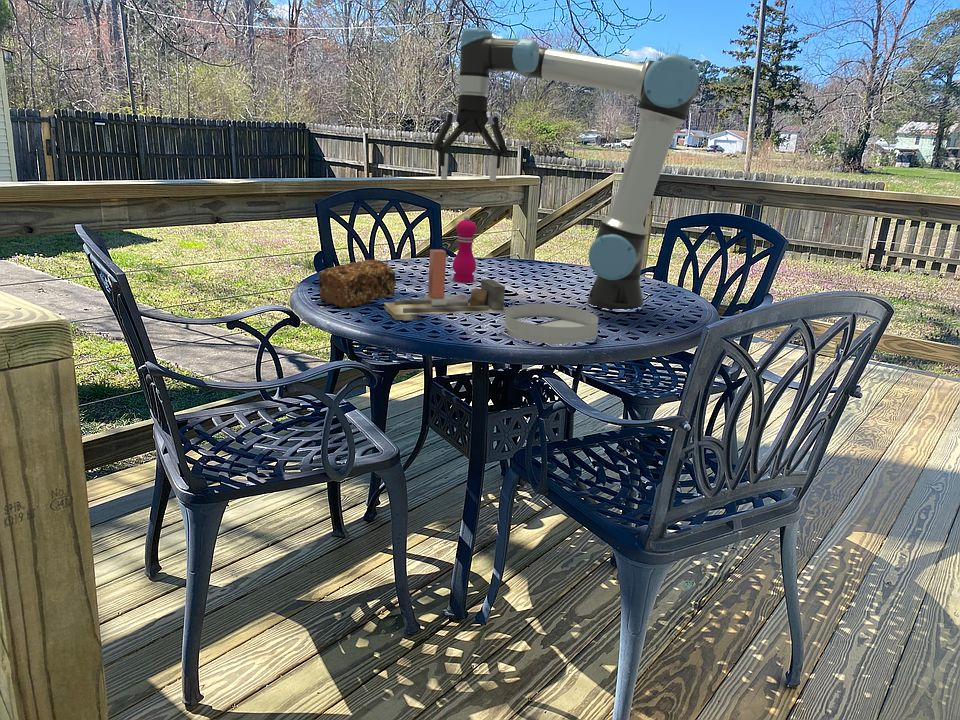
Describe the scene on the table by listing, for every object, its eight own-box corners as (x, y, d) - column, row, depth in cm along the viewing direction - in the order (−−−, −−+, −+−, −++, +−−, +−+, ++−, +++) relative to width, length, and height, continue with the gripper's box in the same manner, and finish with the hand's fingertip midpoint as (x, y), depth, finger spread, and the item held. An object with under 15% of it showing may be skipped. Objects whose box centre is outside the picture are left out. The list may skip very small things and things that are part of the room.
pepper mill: (474, 283, 223) (478, 217, 217) (451, 282, 223) (454, 215, 217) (475, 279, 230) (479, 214, 224) (452, 277, 230) (455, 212, 224)
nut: (486, 305, 190) (488, 290, 189) (483, 308, 187) (485, 293, 186) (471, 303, 191) (473, 288, 190) (468, 306, 187) (469, 290, 186)
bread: (369, 292, 204) (370, 256, 201) (397, 299, 198) (398, 262, 195) (316, 301, 190) (316, 263, 187) (344, 309, 184) (344, 270, 181)
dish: (497, 343, 164) (499, 322, 162) (507, 319, 185) (509, 300, 183) (597, 353, 161) (600, 331, 160) (596, 328, 182) (598, 308, 181)
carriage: (461, 302, 190) (464, 248, 186) (469, 308, 185) (472, 252, 181) (424, 303, 187) (426, 248, 183) (431, 309, 182) (433, 252, 177)
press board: (493, 305, 197) (495, 278, 195) (510, 316, 187) (512, 287, 184) (383, 308, 187) (384, 279, 184) (395, 320, 176) (395, 290, 174)
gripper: (512, 98, 195) (506, 180, 202) (421, 91, 187) (418, 177, 193) (523, 98, 189) (517, 183, 195) (430, 90, 180) (427, 179, 186)
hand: (468, 180), depth 194 cm, fingers open, 13 cm apart
